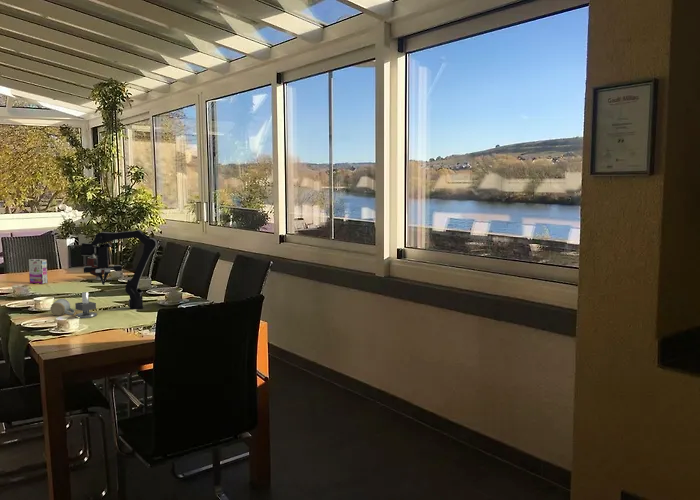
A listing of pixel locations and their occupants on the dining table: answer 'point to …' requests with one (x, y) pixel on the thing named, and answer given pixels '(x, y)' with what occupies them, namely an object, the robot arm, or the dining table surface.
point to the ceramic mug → (61, 307)
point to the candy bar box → (38, 271)
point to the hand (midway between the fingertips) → (103, 284)
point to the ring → (85, 306)
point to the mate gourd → (91, 263)
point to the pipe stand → (86, 313)
